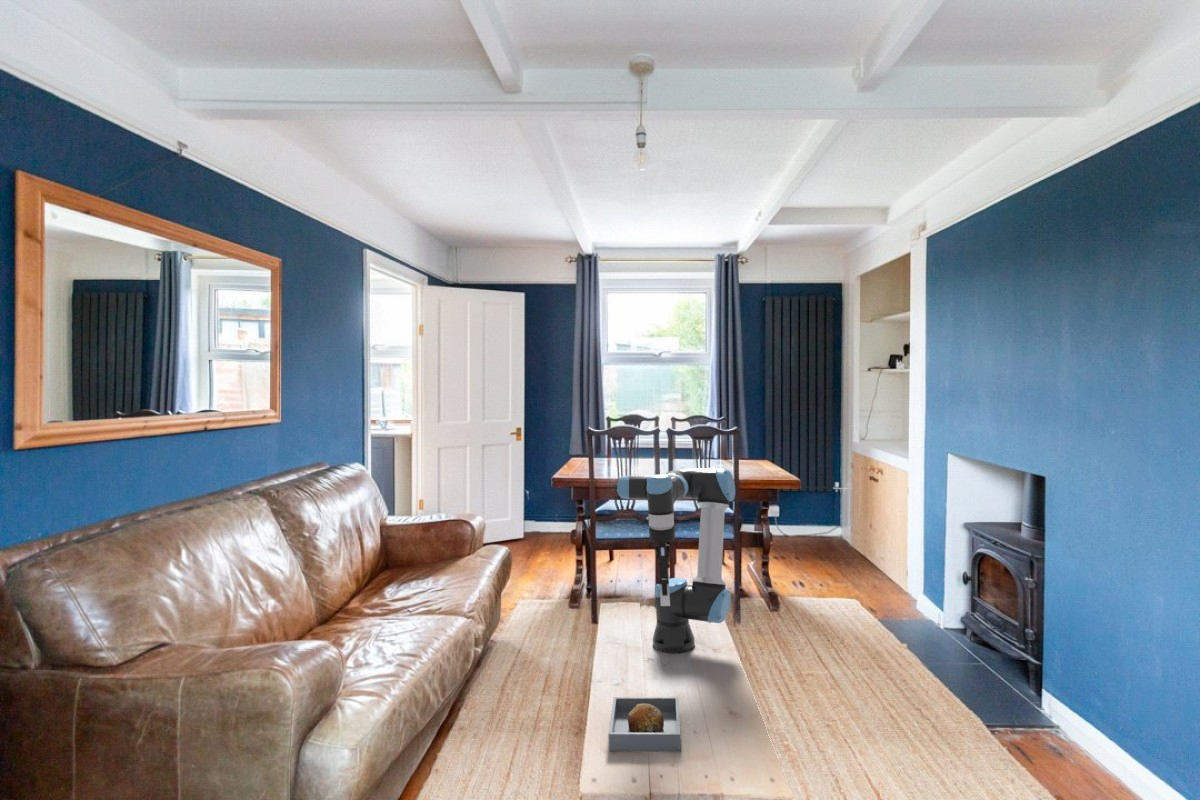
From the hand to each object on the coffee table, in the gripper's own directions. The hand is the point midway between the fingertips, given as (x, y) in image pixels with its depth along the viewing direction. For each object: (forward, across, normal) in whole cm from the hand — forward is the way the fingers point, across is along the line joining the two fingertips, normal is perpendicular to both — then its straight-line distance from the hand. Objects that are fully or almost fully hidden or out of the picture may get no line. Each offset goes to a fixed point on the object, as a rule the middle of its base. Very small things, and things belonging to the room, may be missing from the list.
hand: (665, 597), depth 179 cm
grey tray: (+31, +17, -7) cm, 36 cm away
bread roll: (+30, +17, -7) cm, 35 cm away
